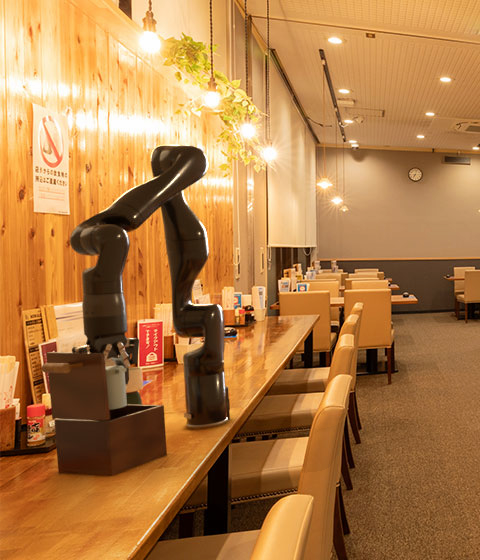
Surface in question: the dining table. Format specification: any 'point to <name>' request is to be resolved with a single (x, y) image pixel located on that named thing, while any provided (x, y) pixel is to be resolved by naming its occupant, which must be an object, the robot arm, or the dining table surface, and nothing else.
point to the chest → (111, 440)
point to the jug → (116, 386)
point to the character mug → (134, 386)
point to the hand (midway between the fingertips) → (109, 387)
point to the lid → (77, 385)
